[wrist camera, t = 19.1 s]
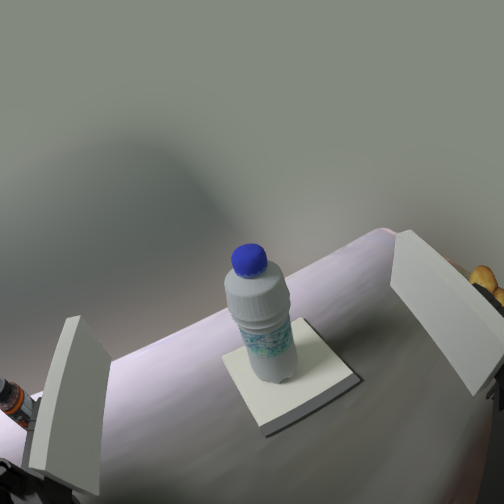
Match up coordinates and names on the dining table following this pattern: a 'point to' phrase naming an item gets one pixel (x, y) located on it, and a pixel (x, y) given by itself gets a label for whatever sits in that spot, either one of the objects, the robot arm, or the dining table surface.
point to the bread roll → (487, 282)
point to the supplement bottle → (16, 403)
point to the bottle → (262, 313)
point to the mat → (292, 382)
